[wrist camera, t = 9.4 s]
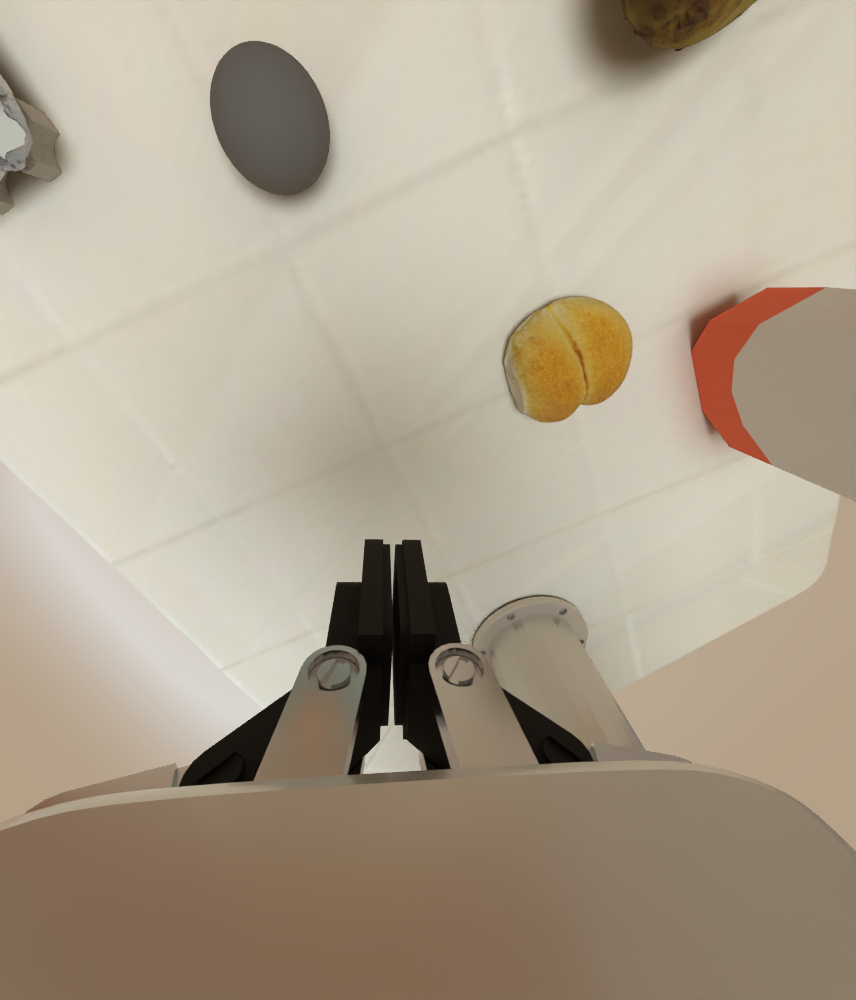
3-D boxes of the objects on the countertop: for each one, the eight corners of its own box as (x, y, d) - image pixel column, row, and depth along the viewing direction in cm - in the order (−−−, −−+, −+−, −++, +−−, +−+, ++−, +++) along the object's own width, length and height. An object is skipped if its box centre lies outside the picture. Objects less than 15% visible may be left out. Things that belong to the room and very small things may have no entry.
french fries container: (743, 284, 29) (1185, 279, 13) (756, 410, 34) (1089, 514, 18) (684, 318, 30) (1041, 350, 14) (706, 437, 35) (986, 560, 19)
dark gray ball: (282, -21, 17) (310, 97, 22) (161, 29, 17) (219, 135, 22) (340, 111, 18) (353, 195, 23) (224, 161, 17) (265, 232, 23)
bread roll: (625, 382, 32) (656, 394, 28) (520, 429, 32) (539, 445, 29) (607, 272, 28) (642, 270, 24) (489, 327, 28) (506, 333, 25)
